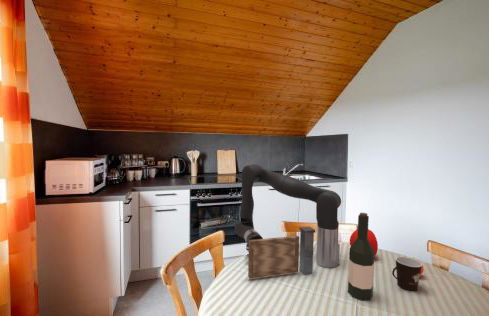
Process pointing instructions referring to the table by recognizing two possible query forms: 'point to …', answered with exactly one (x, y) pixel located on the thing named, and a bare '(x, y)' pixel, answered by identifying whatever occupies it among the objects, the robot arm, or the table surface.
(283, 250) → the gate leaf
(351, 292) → the wine bottle
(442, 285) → the table surface
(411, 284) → the coffee mug
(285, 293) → the table surface
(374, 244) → the tomato
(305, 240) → the gate post
